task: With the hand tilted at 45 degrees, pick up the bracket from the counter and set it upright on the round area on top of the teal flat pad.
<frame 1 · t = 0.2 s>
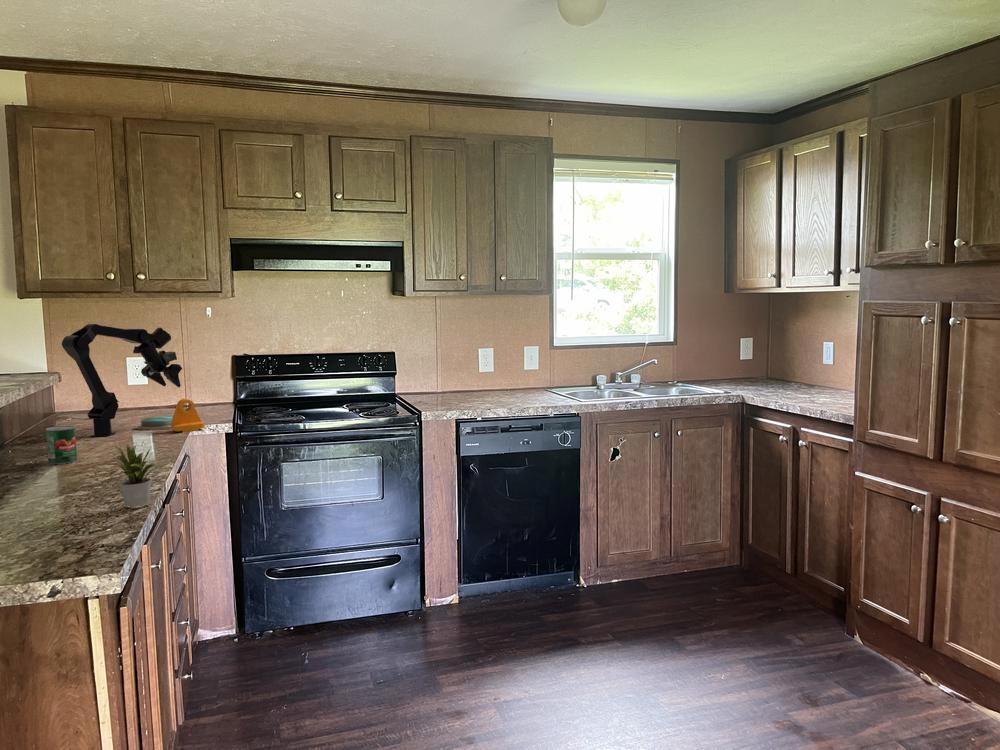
hand: (172, 386, 306), 15 cm above the worktop, tool tilted 35°, fingers open, 9 cm apart
house plant: (131, 506, 185), on the worktop
bracket: (188, 431, 288), on the worktop
teal flat pad: (160, 426, 298), on the worktop
canned tomato: (63, 462, 236), on the worktop
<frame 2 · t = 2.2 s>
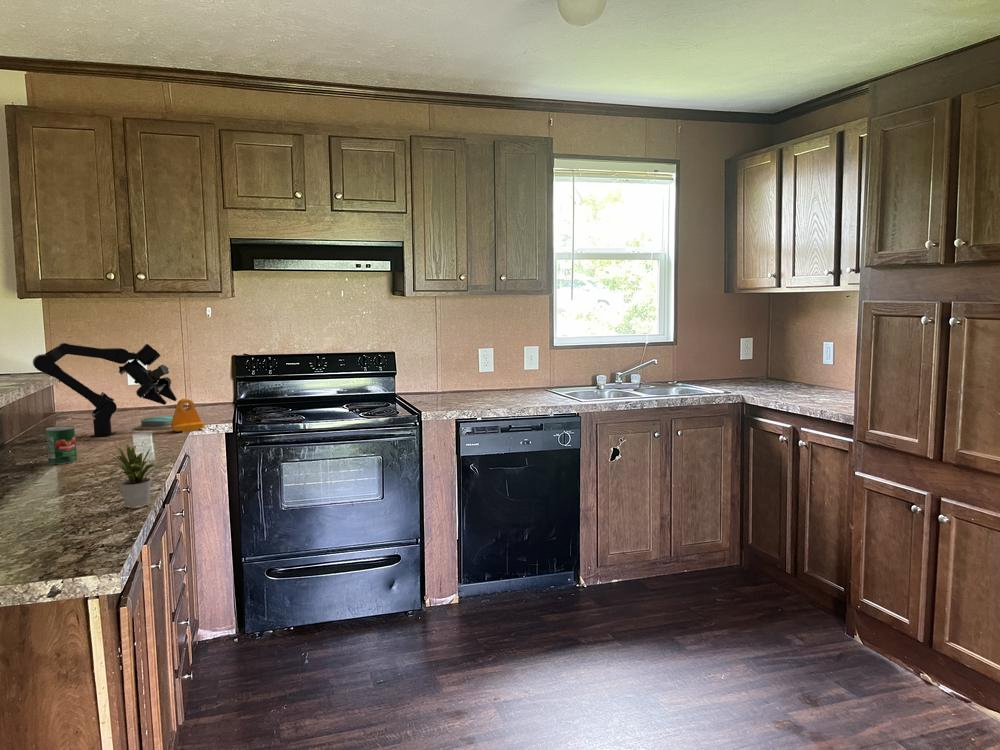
hand: (170, 402, 287), 11 cm above the worktop, tool tilted 45°, fingers open, 9 cm apart
nothing on the worktop moved.
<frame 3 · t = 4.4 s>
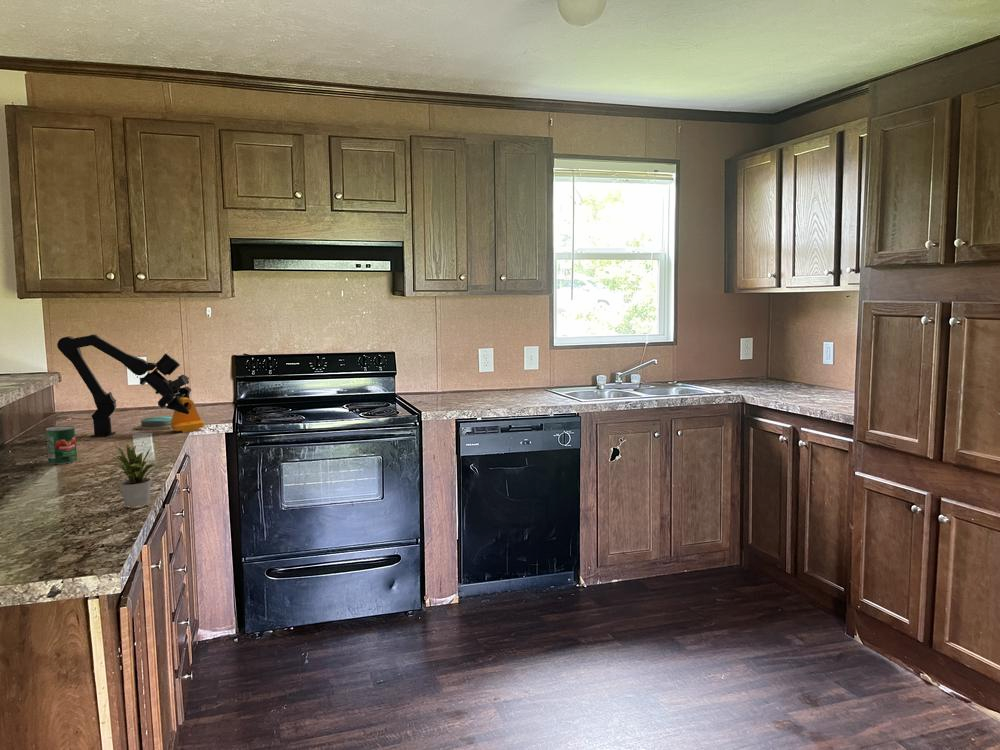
hand: (191, 411, 287), 7 cm above the worktop, tool tilted 45°, fingers closed on bracket, 6 cm apart
bracket: (188, 430, 288), on the worktop, touching gripper
everything else where it was.
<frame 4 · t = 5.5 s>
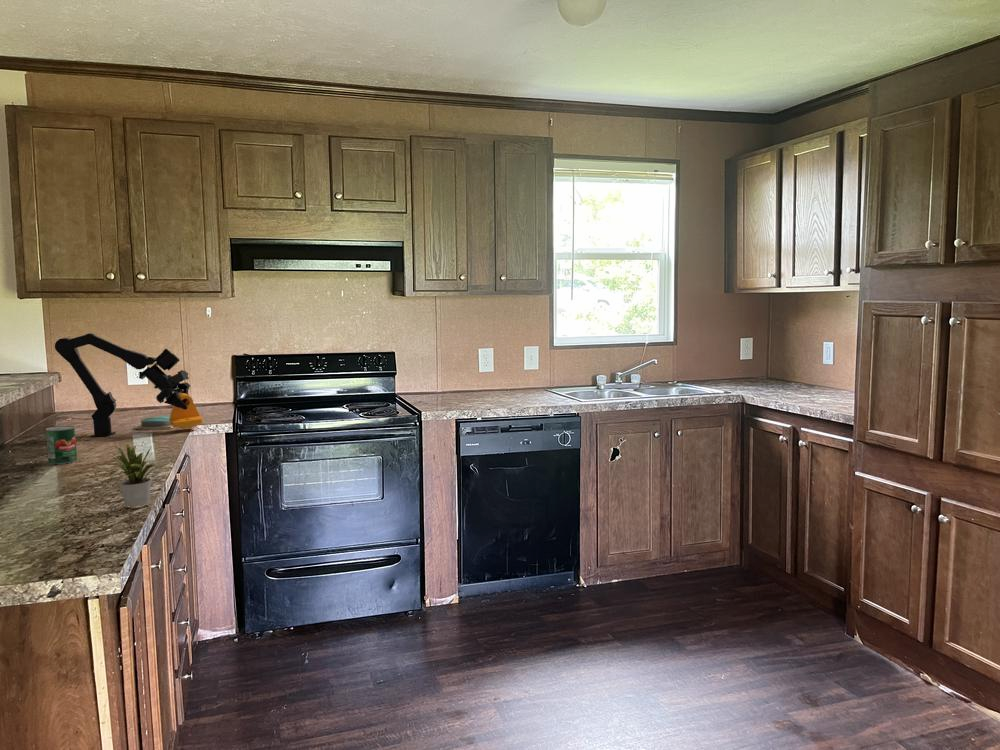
hand: (190, 407, 287), 9 cm above the worktop, tool tilted 45°, fingers closed on bracket, 6 cm apart
bracket: (186, 425, 288), point 2 cm above the worktop, touching gripper
everything else where it was.
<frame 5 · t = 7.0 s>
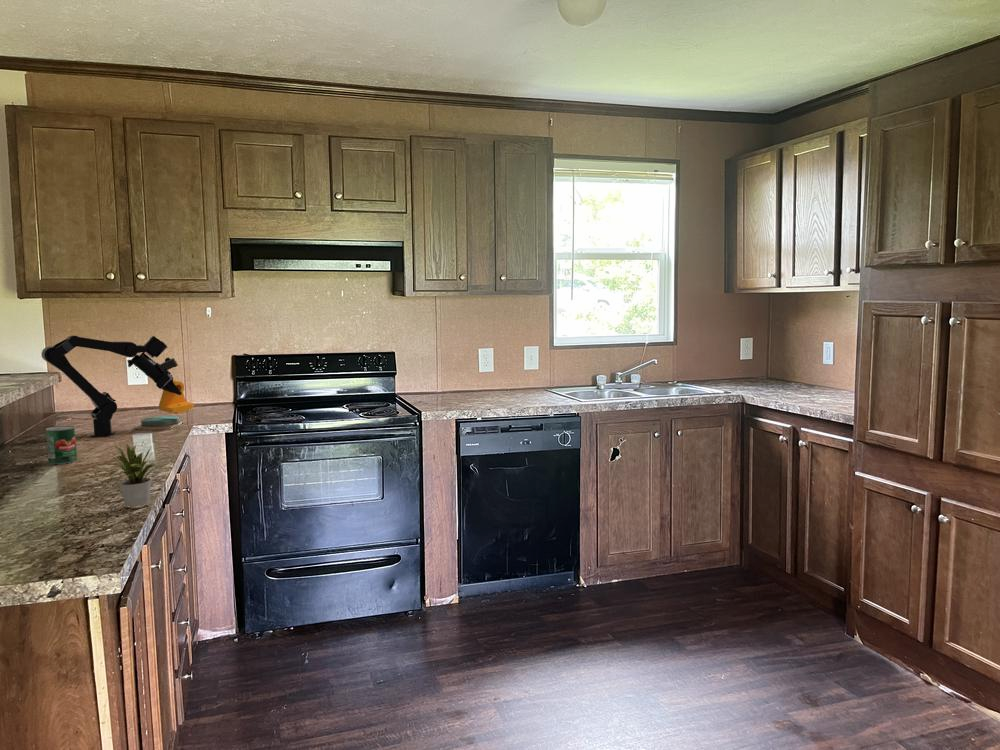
hand: (180, 393, 295), 13 cm above the worktop, tool tilted 45°, fingers closed on bracket, 6 cm apart
bracket: (177, 411, 295), point 6 cm above the worktop, touching gripper
everything else where it was.
when the fingers open (12 cm above the worktop, at t = 9.0 s): bracket drops 2 cm, resting on teal flat pad.
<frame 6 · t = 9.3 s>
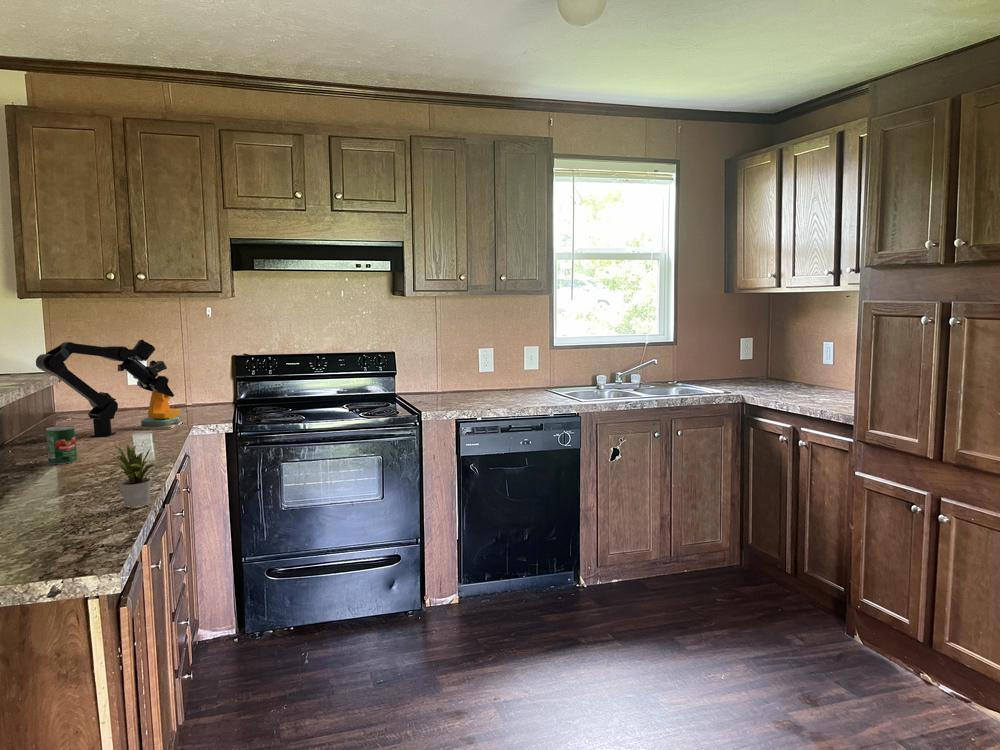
hand: (168, 395, 299), 12 cm above the worktop, tool tilted 45°, fingers open, 9 cm apart
bracket: (165, 418, 299), point 3 cm above the worktop, touching gripper, teal flat pad
everything else where it was.
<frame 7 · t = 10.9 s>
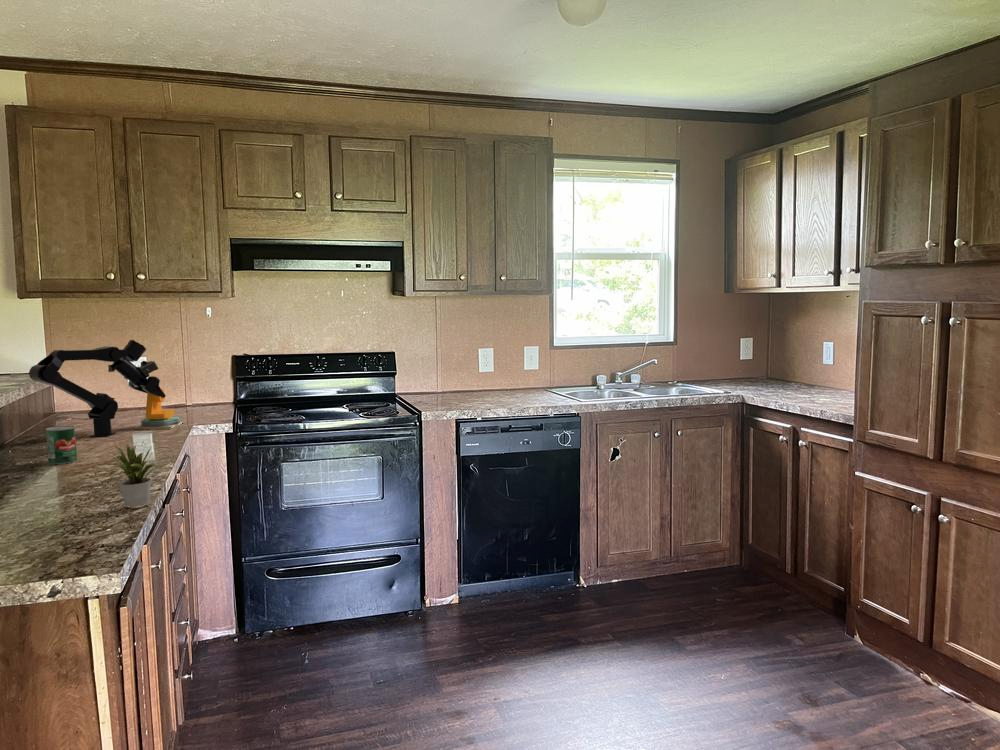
hand: (160, 395, 297), 12 cm above the worktop, tool tilted 45°, fingers open, 9 cm apart
bracket: (161, 419, 298), point 3 cm above the worktop, touching gripper, teal flat pad
everything else where it was.
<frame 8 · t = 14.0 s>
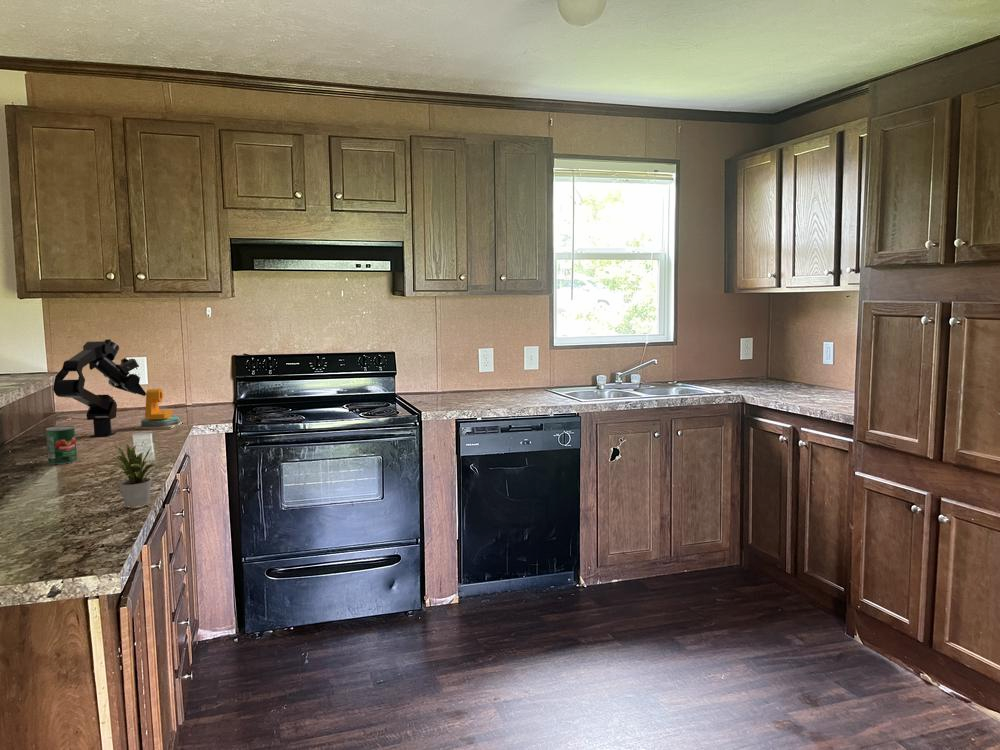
hand: (141, 394, 292), 14 cm above the worktop, tool tilted 45°, fingers open, 9 cm apart
bracket: (159, 419, 298), point 3 cm above the worktop, touching teal flat pad
everything else where it was.
at the end: bracket inside the target area on the teal flat pad (0.3 cm from its centre), point 2.8 cm above the teal flat pad's base; bracket tilted 0°; the gripper is holding nothing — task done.
